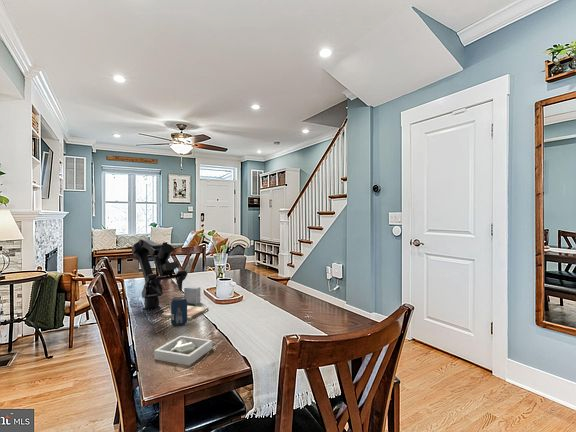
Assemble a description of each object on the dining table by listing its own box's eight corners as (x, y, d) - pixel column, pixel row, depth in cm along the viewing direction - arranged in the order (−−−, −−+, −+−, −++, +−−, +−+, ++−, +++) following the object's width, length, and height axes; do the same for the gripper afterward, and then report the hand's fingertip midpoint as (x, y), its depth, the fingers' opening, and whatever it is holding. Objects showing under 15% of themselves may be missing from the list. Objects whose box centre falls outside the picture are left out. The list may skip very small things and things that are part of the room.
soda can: (181, 321, 147) (181, 295, 147) (190, 324, 143) (190, 297, 143) (167, 325, 142) (167, 298, 142) (176, 328, 137) (176, 301, 137)
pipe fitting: (195, 350, 117) (177, 349, 117) (196, 339, 117) (178, 338, 117) (189, 360, 109) (169, 358, 109) (190, 349, 109) (170, 347, 109)
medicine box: (200, 302, 179) (200, 287, 178) (196, 304, 174) (196, 288, 174) (188, 301, 181) (188, 286, 181) (183, 303, 176) (183, 287, 176)
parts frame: (154, 359, 109) (154, 350, 108) (180, 343, 122) (180, 335, 122) (189, 365, 104) (189, 356, 104) (212, 348, 117) (212, 340, 117)
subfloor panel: (161, 316, 154) (161, 313, 154) (182, 307, 169) (182, 304, 169) (189, 319, 149) (189, 317, 149) (208, 310, 164) (208, 307, 164)
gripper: (147, 257, 145) (156, 286, 137) (186, 253, 158) (196, 280, 150) (141, 271, 151) (149, 299, 143) (179, 267, 164) (188, 293, 156)
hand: (171, 292), depth 148 cm, fingers open, 9 cm apart
